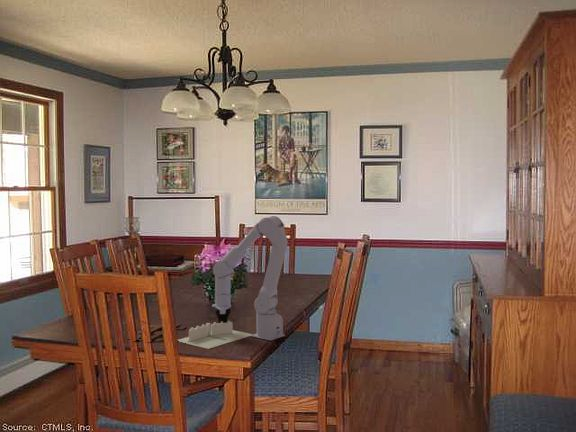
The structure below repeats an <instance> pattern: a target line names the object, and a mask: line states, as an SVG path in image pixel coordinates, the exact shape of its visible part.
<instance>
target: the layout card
mask: <svg viewBox="0 0 576 432" xmlns="http://www.w3.org/2000/svg"><path fill="white" fill-rule="evenodd" d="M254 334H255V333H254ZM254 334H252V333H248V332H245V331H244V332H243V331H239V330H234V329H233V333H228V334H220V335H211V336H207V337H204V338H201V339H197V340H194V341H189V336H187V337H186V336H185V337H182V338H179V339H177V340H178V341H179V342H178V343H181V342H182V343H183V344H185V343H186V345H191V346H192V347H197V348H201V349H204V350H210V349H213V348H217V347H219V346H220V347H221V346H223V345H227V344H230V343H232V342H236V341H238V340H243V339H245V338H248V337H252V335H254Z"/></svg>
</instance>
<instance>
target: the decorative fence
mask: <svg viewBox="0 0 576 432" xmlns="http://www.w3.org/2000/svg"><path fill="white" fill-rule="evenodd" d="M175 324H176V328H177V330H176V331H184V330H186V329H187V328H188V327H187V326H181V324H180V323H175ZM150 327H151V329H150V330H151V334H152V336H151V337H152V341H153V342H152V343H162V342H164V341H163V338H164V337H163V336H162V331H163V329H162V326H161V324H151V325H149V328H150ZM160 330H162V331H160ZM137 333H138V334H139V333H141V330H138V331H137ZM136 336H137V339H141V334H139V335H136ZM162 337H163V338H162ZM161 341H162V342H161Z"/></svg>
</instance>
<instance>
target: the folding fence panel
mask: <svg viewBox="0 0 576 432" xmlns="http://www.w3.org/2000/svg"><path fill="white" fill-rule="evenodd" d="M233 328H234V326H233V321H231V320H227V322H226V323H223V321H221V323H219V322H218V323H217V322H216V321H215V322H213V323H211V335H220V334H228V333H233V330H234V329H233Z"/></svg>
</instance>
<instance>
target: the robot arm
mask: <svg viewBox="0 0 576 432" xmlns="http://www.w3.org/2000/svg"><path fill="white" fill-rule="evenodd" d="M263 236H264V237H265V238H267V239H268V241H269V242H270V243H271V245H272V247H271V251H270V255H269V259H268V261H267V262H268V264H267V267H266V271H265V275H264V279H263V283H262V286H261V288H260V290H259V292H258V296H257V297H256V298H255V300H254V303H253V308H254V310H255V312H256V315H255V316H256V333H254V335H252V336H251V338H252V337H253V338H256V339H257V338H258V339H262V340H267V341H274V340H277V339H279V338H283V337H285V334H284V321H283V317H282V315H280V314H278V313H277V310H276V307H277V305H278V304H279V303H278V302H279V299H278V289H277V288H278V284H279V280H280V276H281V272H282V268H283V264H284V259H285V255H286V251H287V247H288V243H289V242H288V237H287V233H286V229H285V224H284V222H283V221H282V220H281V219H280V217H278V216H276V215H275V216H274V215H273V216H269V217H263V218H261V219H260V220H259V222H257V223H256V224H254V226H253V227H252V228H251V230H250V231H248V233H247V234H246V236H244V238H243V239H242V240H241V241H240V242H239V244H238V246H237V245H234V246H232V247H229V248H228V249H227V250H228V251H227V252H226V254H225V255H223V256H221V257H220V261H217V262H215V263H214V265H213V267H212V273H213V275H214V276H215V277H214V278H215V279H214V282H215V283H214V284H215V285H214V287H215V288H214V289H215V290H214V292H215V293H214V295H215V297H214V302H215V303H214V304H213V303H212V305H211V307H212V308H216V309H215V311H214V312H215V314H216V317H217V320H218V323H221V321H223V323H226V322H228V319H229V315H230V314H231V307H232V304H231V297H232V296H231V295H232V294H231V293H232V292H231V285H232V283H231V282H232V281H231V280H232V279H231V274H233V272H234V269H235V268H236V267H237V265H238V264H240V262H241V261H242V260H243V259H245V252H246V251H247V249H249V248H250V246H251V245H253V244H254V242H256V241H257V240H258V239H259V238H261V237H263Z"/></svg>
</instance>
